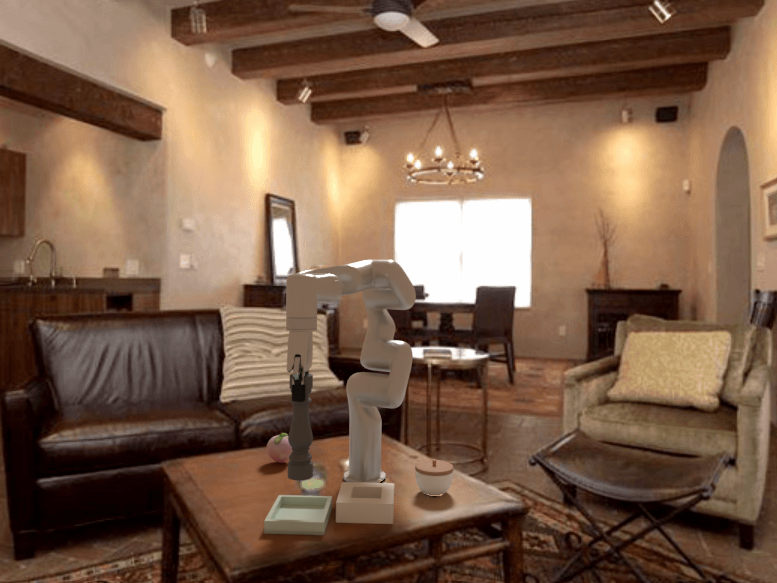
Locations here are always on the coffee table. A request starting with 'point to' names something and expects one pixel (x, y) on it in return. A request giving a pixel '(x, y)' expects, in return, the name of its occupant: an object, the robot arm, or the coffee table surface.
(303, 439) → the candle holder
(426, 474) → the lidded jar
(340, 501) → the socket block
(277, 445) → the decorative fruit
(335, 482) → the coffee table surface
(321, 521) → the parts tray
